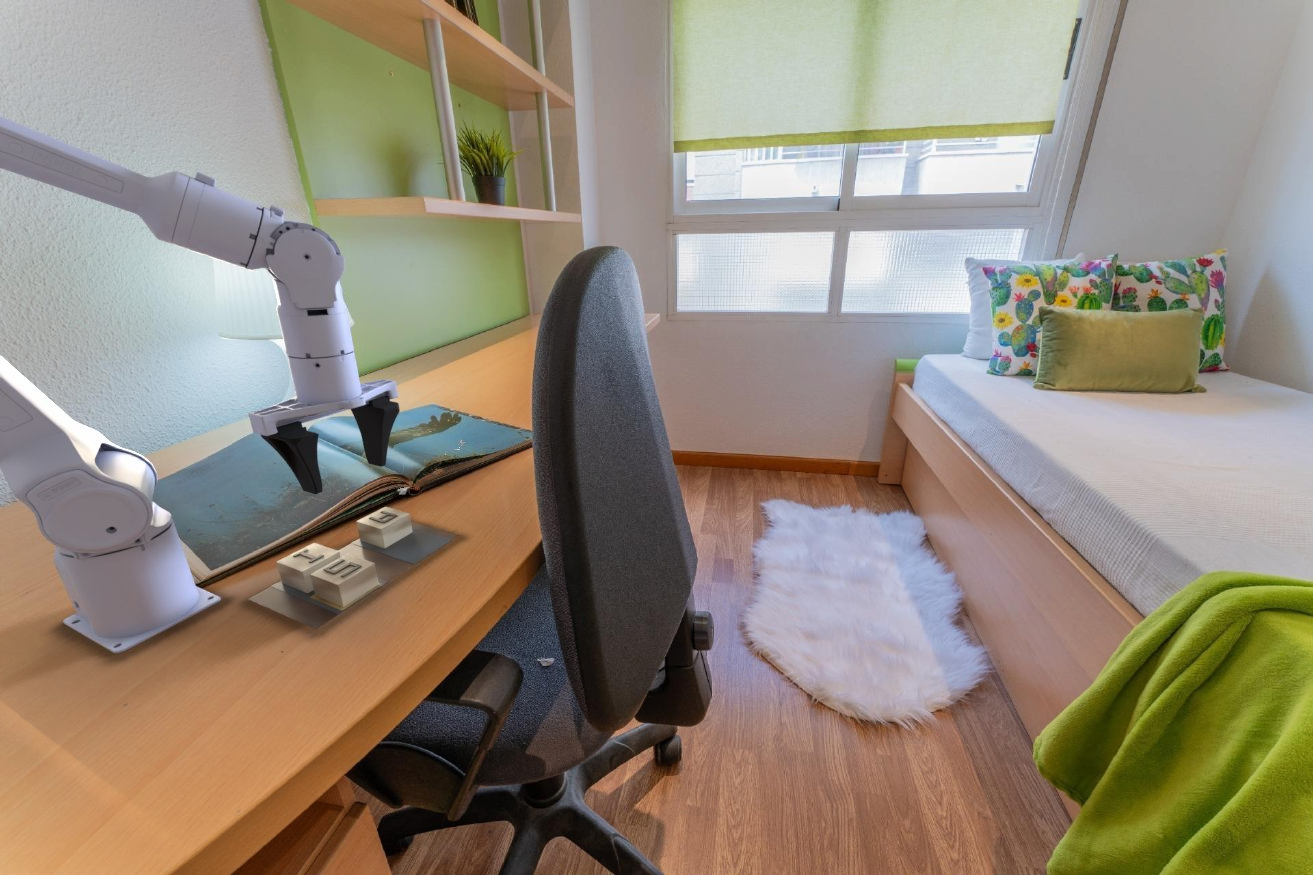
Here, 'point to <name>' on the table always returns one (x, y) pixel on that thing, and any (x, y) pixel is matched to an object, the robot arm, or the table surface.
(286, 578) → the tile
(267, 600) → the letter board
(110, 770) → the table surface
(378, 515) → the tile
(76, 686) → the table surface
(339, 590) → the tile
